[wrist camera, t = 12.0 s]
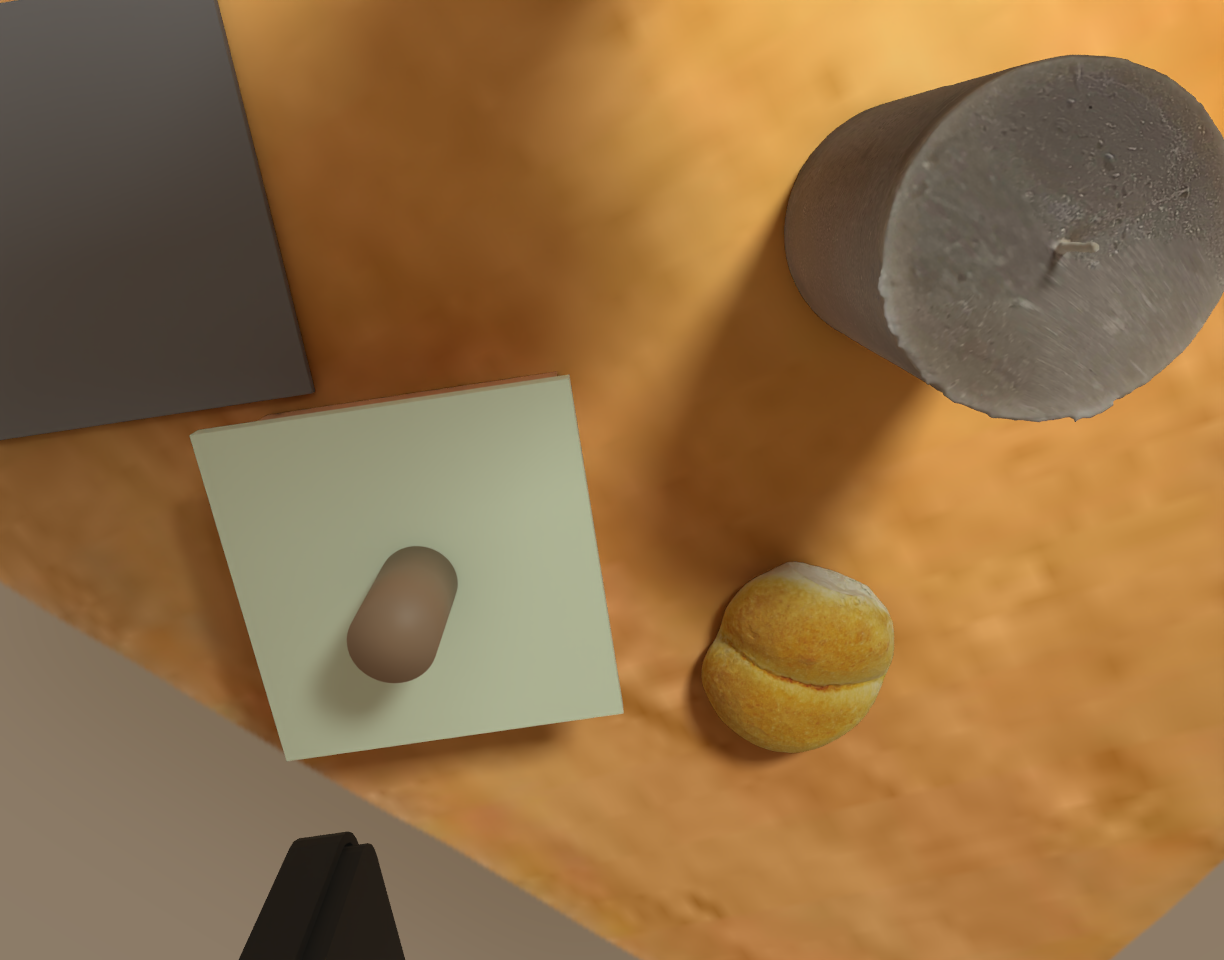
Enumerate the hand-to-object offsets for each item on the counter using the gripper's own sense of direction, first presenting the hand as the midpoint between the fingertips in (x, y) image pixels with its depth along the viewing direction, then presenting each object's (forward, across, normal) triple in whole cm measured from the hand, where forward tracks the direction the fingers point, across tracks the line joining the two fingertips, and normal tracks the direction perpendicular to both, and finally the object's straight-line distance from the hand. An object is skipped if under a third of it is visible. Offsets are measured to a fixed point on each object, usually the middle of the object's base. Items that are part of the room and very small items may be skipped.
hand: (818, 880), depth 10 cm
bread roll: (+31, -5, +14) cm, 34 cm away
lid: (+25, +10, +6) cm, 28 cm away
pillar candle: (+31, -11, -4) cm, 33 cm away
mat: (+30, +22, -9) cm, 39 cm away
